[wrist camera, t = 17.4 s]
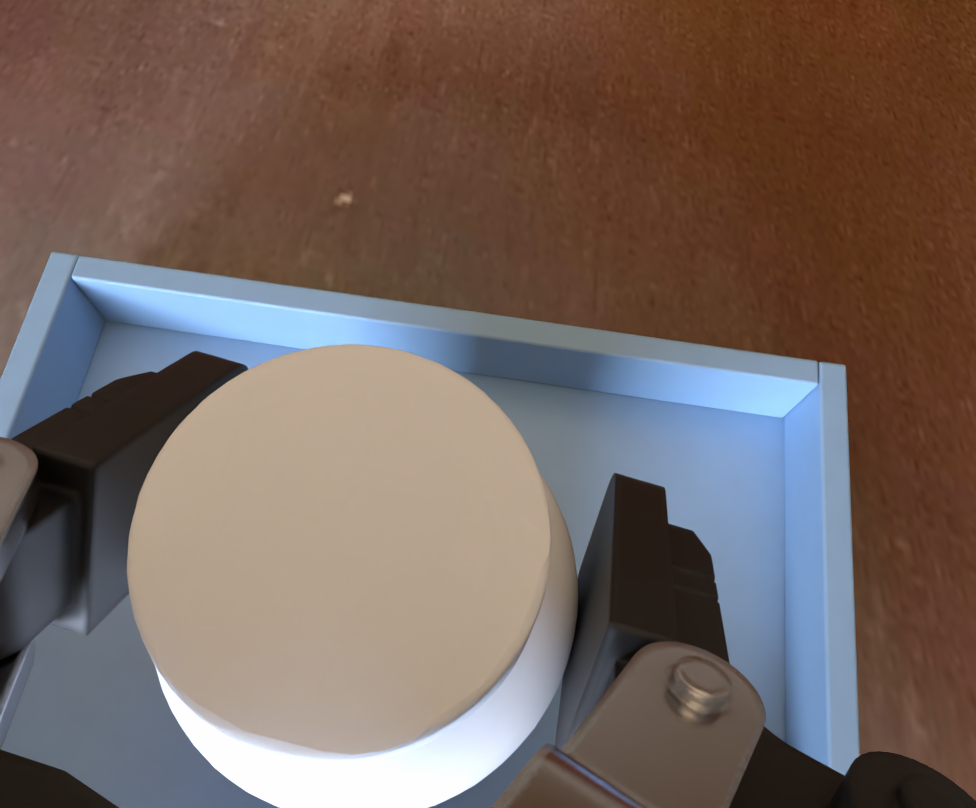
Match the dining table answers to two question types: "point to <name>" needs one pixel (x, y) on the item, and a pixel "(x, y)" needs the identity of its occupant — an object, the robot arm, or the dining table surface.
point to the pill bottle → (352, 580)
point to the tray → (558, 456)
